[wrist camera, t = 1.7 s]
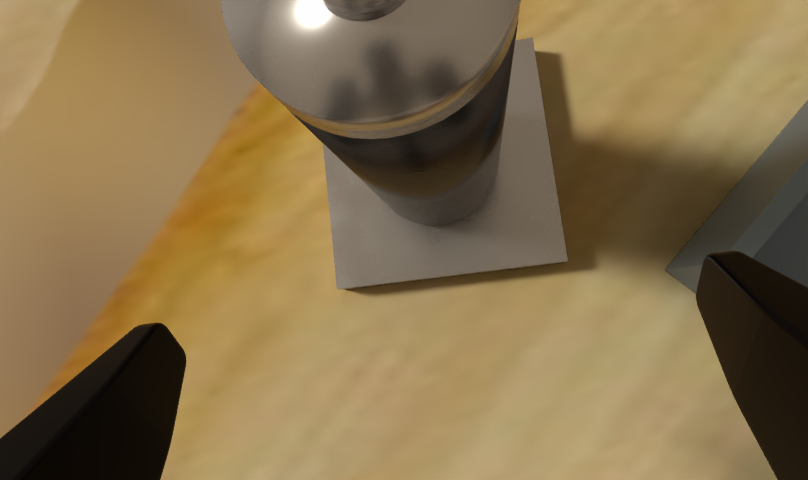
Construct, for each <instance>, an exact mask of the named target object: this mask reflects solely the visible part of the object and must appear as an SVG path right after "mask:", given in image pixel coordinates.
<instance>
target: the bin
mask: <svg viewBox="0 0 808 480" xmlns="http://www.w3.org/2000/svg"><path fill="white" fill-rule="evenodd" d="M731 250H734V251H740V252H742V253H744V254H746V255H748V256H750V257H752V258H754V259H755V260H757V261H759V262H761V263H763V264H765V265H767V266H769V267H770V268H772V269H774V270H776V271H778V272H780V273H782V274H784V275H786V276H787V277H789V278H791V279H793V280H795V281H797V282H799V283H801V284H803V285H804V286H806V287H808V101H807V102H806V103H805V104H804V105H803V107H802V108H801V109H800V110H799V111H798V113H797V114H796V115H795V116H794V117H793V119H792V120H791V121H790V122H789V123H788V124H787V126H786V127H785V128H784V129H783V130H782V132H781V133H780V134H779V135H778V136H777V137H776V139H775V140H774V141H773V142H772V143H771V145H770V146H769V147H768V148H767V149H766V150H765V152H764V153H763V154H762V155H761V156H760V158H759V159H758V160H757V161H756V162H755V163H754V165H753V166H752V167H751V168H750V169H749V171H748V172H747V173H746V174H745V175H744V177H743V178H742V179H741V180H740V181H739V182H738V184H737V185H736V186H735V187H734V188H733V190H732V191H731V192H730V193H729V194H728V195H727V197H726V198H725V199H724V200H723V201H722V203H721V204H720V205H719V206H718V207H717V208H716V210H715V211H714V212H713V213H712V214H711V216H710V217H709V218H708V219H707V220H706V222H705V223H704V224H703V225H702V226H701V227H700V229H699V230H698V231H697V232H696V233H695V235H694V236H693V237H692V238H691V239H690V240H689V242H688V243H687V244H686V245H685V246H684V248H683V249H682V250H681V251H680V252H679V253H678V255H677V256H676V257H675V258H674V259H673V261H672V262H671V263H670V264H669V265H668V266H667V268H666V269H665V271H667V272H668V273H669V274H671V275H672V276H673V277H675V278H676V279H677V280H679V281H680V282H681V283H683V284H684V285H685V286H687V287H688V288H689V289H691V290H692V291H693V292H695V293H696V290H697V285H698V281H699V277H700V273H701V269H702V264H703V261H704V258H705V257H706V256H707V255H708V254H710V253H715V252H723V251H731Z"/></svg>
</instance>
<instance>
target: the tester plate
mask: <svg viewBox="0 0 808 480" xmlns="http://www.w3.org/2000/svg"><path fill="white" fill-rule="evenodd" d="M323 149H324V159H325V169H326V180H327V190H328V200H329V211H330V221H331V231H332V242H333V252H334V262H335V273H336V283H337V289H352V288H360V287H368V286H377V285H385V284H393V283H401V282H410V281H418V280H426V279H434V278H442V277H451V276H459V275H467V274H475V273H484V272H492V271H500V270H508V269H516V268H525V267H533V266H541V265H549V264H557V263H564V262H567V261H568V259H567V253H566V246H565V240H564V234H563V227H562V221H561V215H560V208H559V202H558V196H557V189H556V183H555V177H554V170H553V164H552V157H551V151H550V145H549V138H548V132H547V126H546V119H545V113H544V107H543V100H542V94H541V88H540V81H539V75H538V69H537V62H536V56H535V50H534V43H533V38H527V39H522V40H516V41H515V46H514V53H513V61H512V68H511V76H510V83H509V90H508V98H507V105H506V112H505V120H504V127H503V135H502V142H501V149H500V157H499V164H498V171H497V176H496V180H495V183H494V186H493V188H492V190H491V192H490V194H489V195H488V197H487V198H486V200H485V201H484V202H483V203H482V204H481V205H480V207H479V208H478V209H476V210H475V211H474V212H473V213H471V214H470V215H468V216H467V217H465V218H463V219H461V220H459V221H456V222H453V223H450V224H445V225H435V226H431V225H422V224H418V223H414V222H412V221H409V220H407V219H405V218H403V217H401V216H400V215H398V214H397V213H396V212H394V211H393V210H392V209H391V208H390V207H389V206H388V205H387V204H386V203H385V202H384V201H383V200H382V199H381V198H380V197H379V196H378V195H377V194H375V193H374V192H373V191H372V190H371V189H370V188H369V187H368V186H367V185H366V184H365V183H364V182H363V181H362V180H361V179H360V178H359V177H358V176H357V175H356V174H355V173H354V172H353V171H352V170H350V169H349V168H348V167H347V166H346V165H345V164H344V163H343V162H342V161H341V160H340V159H339V158H338V157H337V156H336V155H335V154H334V153H333V152H332V151H331V150H330V149H329V148H328V147H327V146H325V145H324V144H323Z"/></svg>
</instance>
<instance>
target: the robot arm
mask: <svg viewBox="0 0 808 480" xmlns="http://www.w3.org/2000/svg"><path fill="white" fill-rule="evenodd" d="M696 301H697V305H698V308H699V311H700V313H701V316H702V318H703V321H704V323H705V326H706V328H707V331H708V334H709V336H710V339H711V341H712V344H713V346H714V349H715V351H716V354H717V357H718V359H719V362H720V364H721V367H722V369H723V372H724V374H725V377H726V380H727V382H728V384H729V387H730V389H731V391H732V394H733V396H734V398H735V400H736V402H737V404H738V406H739V408H740V410H741V412H742V414H743V416H744V417H745V419H746V421H747V423H748V425H749V427H750V429H751V431H752V432H753V434H754V436H755V438H756V440H757V442H758V444H759V446H760V447H761V449H762V451H763V453H764V455H765V457H766V459H767V461H768V462H769V464H770V466H771V468H772V470H773V472H774V474H775V476H776V477H777V479H778V480H808V287H806V286H804V285H803V284H801V283H799V282H797V281H795V280H793V279H791V278H789V277H787V276H786V275H784V274H782V273H780V272H778V271H776V270H774V269H772V268H770V267H769V266H767V265H765V264H763V263H761V262H759V261H757V260H755V259H754V258H752V257H750V256H748V255H746V254H744V253H742V252H740V251H734V250H731V251H723V252H715V253H710V254H708V255H707V256H706V257H705V258H704V261H703V264H702V269H701V273H700V277H699V281H698V285H697V290H696ZM185 368H186V355H185V352H184V350H183V348H182V347H181V346H180V344H179V343H178V342H177V340H176V339H175V338H174V336H173V335H172V334H171V332H170V331H169V329H168V328H167V327H166V326H165V325H164V324H162V323H151V324H143V325H139V326H137V327H135V328H134V329H132V330H131V331H130V332H129V333H128V334H126V335H125V336H124V337H123V338H121V339H120V340H119V341H118V342H117V343H115V344H114V345H113V346H112V347H111V348H109V349H108V350H107V351H106V352H105V353H103V354H102V355H101V356H100V357H98V358H97V359H96V360H95V361H94V362H92V363H91V364H90V365H89V366H88V367H86V368H85V369H84V370H83V371H82V372H80V373H79V374H78V375H77V376H75V377H74V378H73V379H72V380H71V381H69V382H68V383H67V384H66V385H65V386H63V387H62V388H61V389H60V390H58V391H57V392H56V393H55V394H54V395H52V396H51V397H50V398H49V399H48V400H46V401H45V402H44V403H43V404H42V405H40V406H39V407H38V408H37V409H35V410H34V411H33V412H32V413H31V414H29V415H28V416H27V417H26V418H25V419H23V420H22V421H21V422H20V423H19V424H17V425H16V426H15V427H14V428H12V429H11V430H10V431H9V432H8V433H6V434H5V435H4V436H3V437H2V438H0V480H160V479H161V475H162V472H163V469H164V465H165V462H166V459H167V455H168V451H169V448H170V444H171V439H172V435H173V430H174V425H175V420H176V414H177V409H178V404H179V399H180V394H181V388H182V383H183V378H184V373H185Z"/></svg>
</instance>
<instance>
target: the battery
mask: <svg viewBox="0 0 808 480" xmlns="http://www.w3.org/2000/svg"><path fill="white" fill-rule="evenodd" d="M520 2H521V0H221V5H222V13H223V17H224V21H225V25H226V29H227V32H228V35H229V37H230V40H231V42H232V45H233V47H234V48H235V51H236V52H237V54H238V56H239V57H240V59H241V61H242V62H243V64H244V65H245V66H246V68H247V69H248V70H249V71H250V73H251V74H252V75H253V76H254V77H255V78H256V79H257V80H258V81H259V82H260V83H261V84H262V85H263V86H264V87H265V88H266V89H267V90H268V91H269V92H270V93H271V94H272V95H273V96H274V97H275V98H277V99H278V100H279V101H280V102H281V103H282V104H283V105H284V106H285V107H286V108H287V109H288V110H289V111H290V112H291V113H292V114H293V115H294V116H295V117H296V118H297V119H298V120H299V121H300V122H302V123H303V124H304V125H305V126H306V127H307V128H308V129H309V130H310V131H311V132H312V133H313V134H314V135H315V136H316V137H317V138H318V139H319V140H320V141H321V142H322V143H323V144H324V145H325V146H327V147H328V148H329V149H330V150H331V151H332V152H333V153H334V154H335V155H336V156H337V157H338V158H339V159H340V160H341V161H342V162H343V163H344V164H345V165H346V166H347V167H348V168H349V169H350V170H352V171H353V172H354V173H355V174H356V175H357V176H358V177H359V178H360V179H361V180H362V181H363V182H364V183H365V184H366V185H367V186H368V187H369V188H370V189H371V190H372V191H373V192H374V193H375V194H377V195H378V196H379V197H380V198H381V199H382V200H383V201H384V202H385V203H386V204H387V205H388V206H389V207H390V208H391V209H392V210H393V211H394V212H396V213H397V214H398V215H400V216H401V217H403V218H405V219H407V220H409V221H412V222H414V223H418V224H422V225H431V226H435V225H445V224H450V223H453V222H456V221H459V220H461V219H463V218H465V217H467V216H468V215H470V214H471V213H473V212H474V211H475V210H476V209H478V208H479V207H480V205H481V204H482V203H483V202H484V201H485V200H486V198H487V197H488V195H489V194H490V192H491V190H492V188H493V186H494V183H495V180H496V176H497V171H498V164H499V157H500V149H501V142H502V135H503V127H504V120H505V112H506V105H507V98H508V90H509V83H510V76H511V68H512V61H513V53H514V46H515V39H516V31H517V24H518V17H519V9H520Z"/></svg>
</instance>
